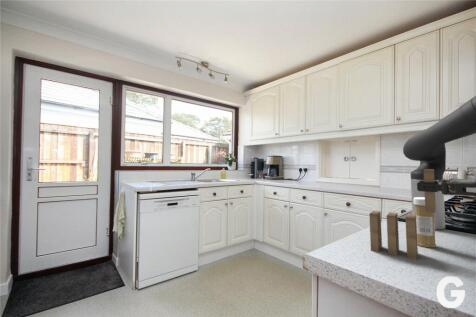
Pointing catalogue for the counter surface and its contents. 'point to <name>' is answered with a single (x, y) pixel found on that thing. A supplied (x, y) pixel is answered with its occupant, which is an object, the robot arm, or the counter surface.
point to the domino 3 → (429, 196)
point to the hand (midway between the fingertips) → (418, 185)
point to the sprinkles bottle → (424, 224)
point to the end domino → (375, 231)
